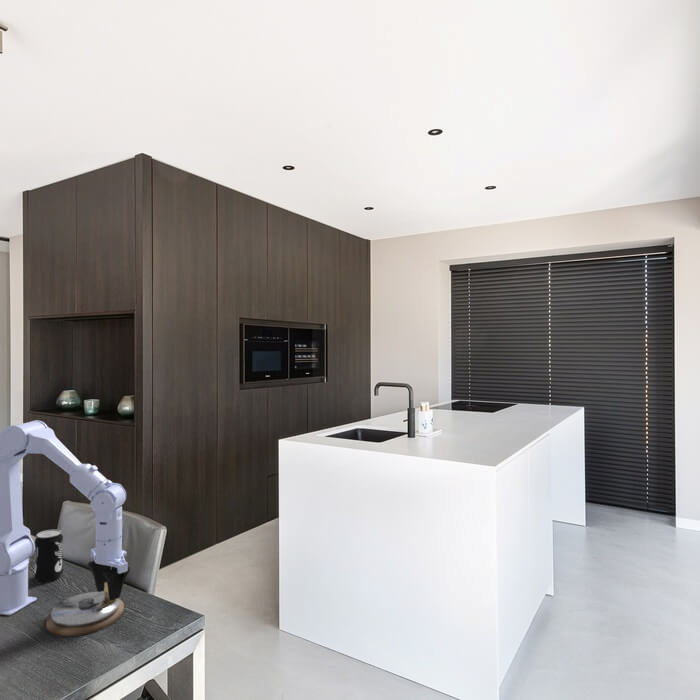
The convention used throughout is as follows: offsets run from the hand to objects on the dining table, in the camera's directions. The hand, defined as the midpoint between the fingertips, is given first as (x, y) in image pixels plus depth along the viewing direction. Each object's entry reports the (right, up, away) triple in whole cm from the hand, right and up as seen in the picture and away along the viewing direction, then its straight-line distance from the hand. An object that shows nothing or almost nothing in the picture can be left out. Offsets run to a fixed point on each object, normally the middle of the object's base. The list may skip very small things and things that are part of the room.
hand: (108, 594), depth 124 cm
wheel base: (-3, -3, -4) cm, 6 cm away
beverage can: (-24, -3, +16) cm, 29 cm away
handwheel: (-3, -2, -4) cm, 6 cm away
